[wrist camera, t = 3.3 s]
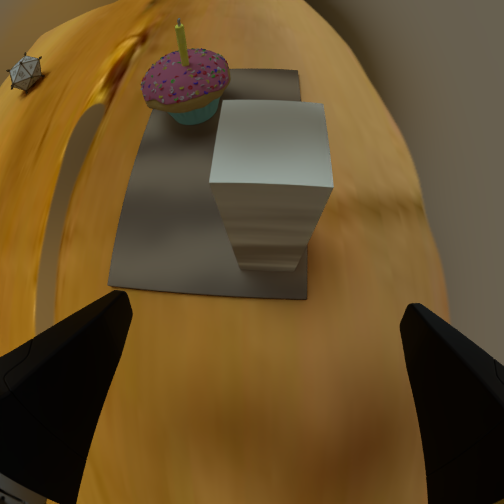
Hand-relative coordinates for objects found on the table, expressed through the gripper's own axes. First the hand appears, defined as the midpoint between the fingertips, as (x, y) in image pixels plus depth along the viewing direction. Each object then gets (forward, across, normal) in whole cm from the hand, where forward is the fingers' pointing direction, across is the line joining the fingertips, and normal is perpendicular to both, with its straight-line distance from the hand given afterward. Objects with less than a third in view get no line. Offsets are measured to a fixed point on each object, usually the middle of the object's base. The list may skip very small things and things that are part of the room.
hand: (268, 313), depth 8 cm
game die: (+37, +48, -19) cm, 63 cm away
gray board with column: (+19, +5, -2) cm, 20 cm away
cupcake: (+23, +8, -6) cm, 25 cm away
